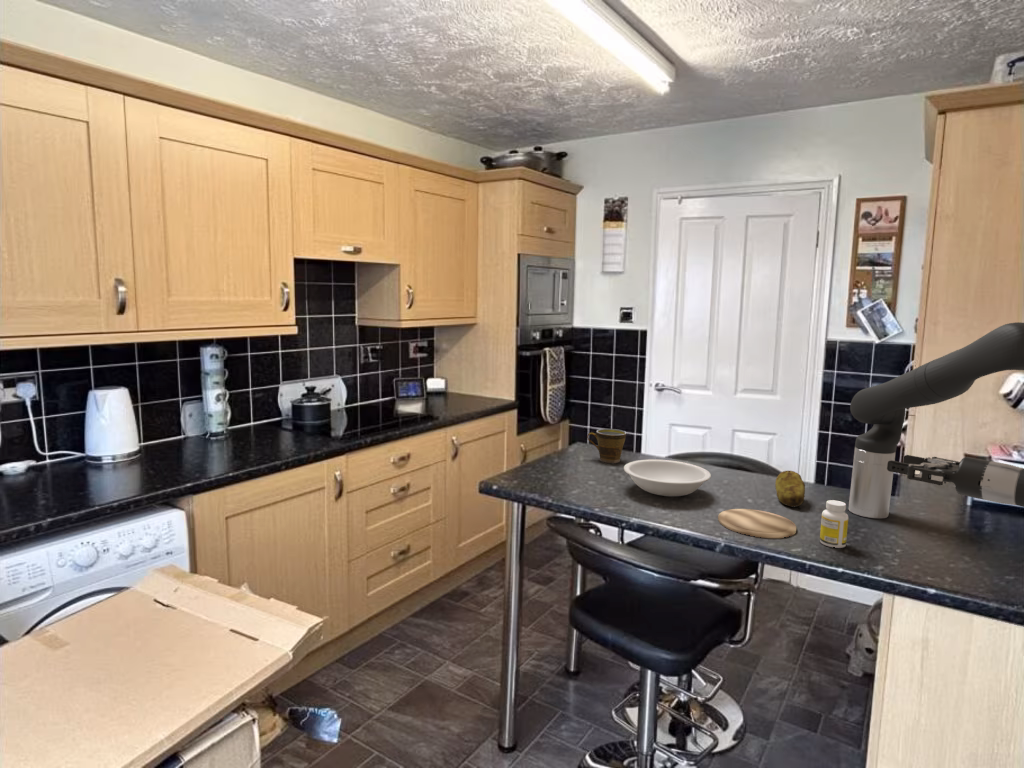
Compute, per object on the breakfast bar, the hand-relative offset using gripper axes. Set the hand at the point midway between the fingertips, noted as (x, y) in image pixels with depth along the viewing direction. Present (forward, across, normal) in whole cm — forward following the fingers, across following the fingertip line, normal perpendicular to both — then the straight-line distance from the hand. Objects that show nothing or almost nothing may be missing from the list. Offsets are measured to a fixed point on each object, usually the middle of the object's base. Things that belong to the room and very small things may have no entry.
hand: (896, 462), depth 130 cm
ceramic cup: (+91, -11, +22) cm, 94 cm away
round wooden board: (+28, +3, +22) cm, 36 cm away
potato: (+32, -21, +22) cm, 44 cm away
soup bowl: (+57, +1, +22) cm, 61 cm away
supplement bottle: (+11, 0, +22) cm, 25 cm away
